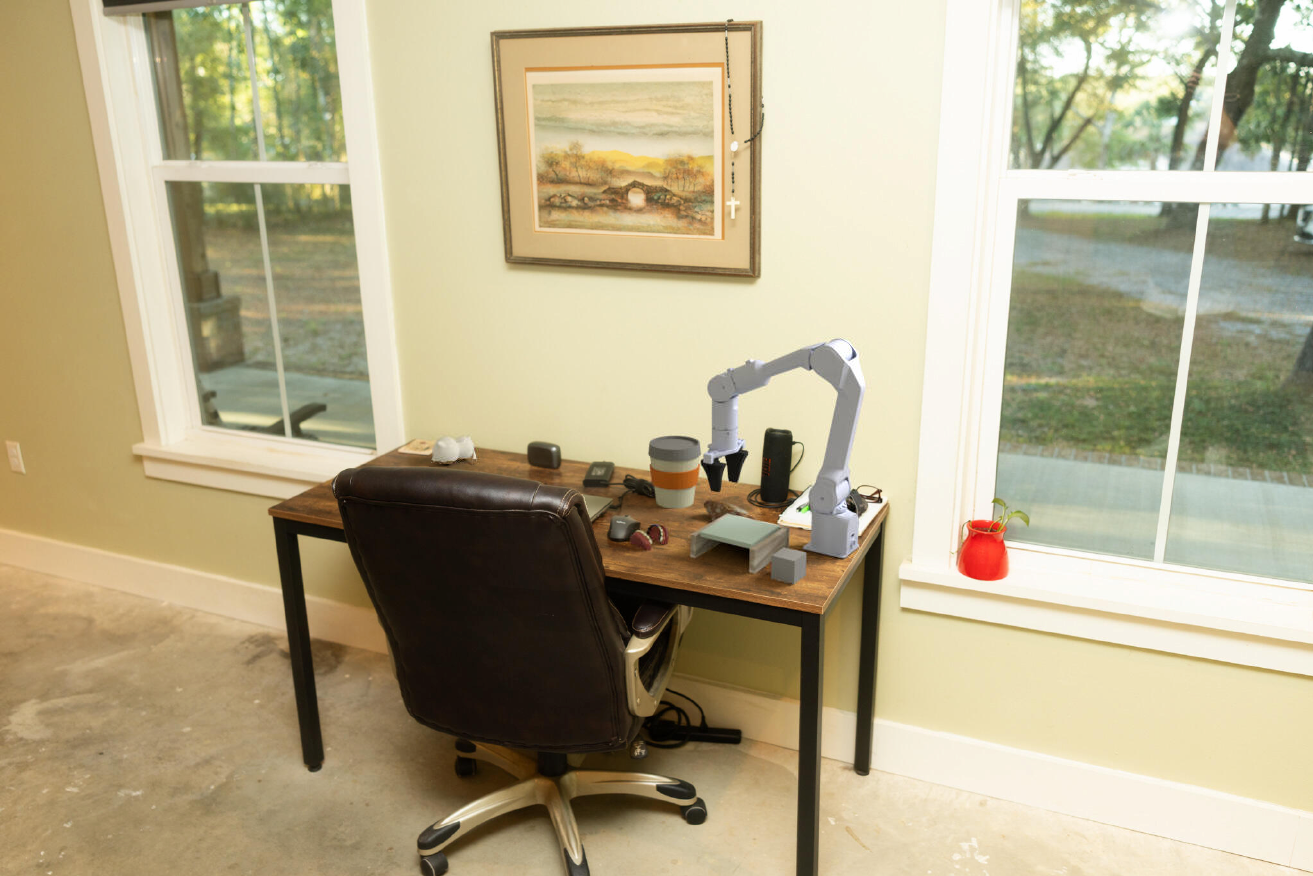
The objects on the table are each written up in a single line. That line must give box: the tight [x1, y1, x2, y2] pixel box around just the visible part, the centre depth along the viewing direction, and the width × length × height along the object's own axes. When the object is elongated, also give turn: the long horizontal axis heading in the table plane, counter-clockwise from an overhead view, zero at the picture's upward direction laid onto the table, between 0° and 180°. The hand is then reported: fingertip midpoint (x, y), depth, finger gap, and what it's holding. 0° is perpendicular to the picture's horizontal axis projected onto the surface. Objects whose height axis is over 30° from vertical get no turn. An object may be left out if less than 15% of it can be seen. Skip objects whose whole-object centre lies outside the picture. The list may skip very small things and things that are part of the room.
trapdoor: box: [700, 515, 779, 550], centre depth 200 cm, size 12×12×1 cm
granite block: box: [770, 547, 807, 585], centre depth 189 cm, size 5×5×5 cm
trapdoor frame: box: [689, 514, 791, 574], centre depth 201 cm, size 15×15×5 cm
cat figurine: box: [431, 434, 477, 462], centre depth 263 cm, size 9×11×12 cm
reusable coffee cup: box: [647, 435, 702, 509], centre depth 230 cm, size 13×13×15 cm
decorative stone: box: [703, 498, 756, 522], centre depth 218 cm, size 10×4×15 cm
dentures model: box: [629, 523, 669, 551], centre depth 206 cm, size 6×4×8 cm
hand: (724, 486), depth 213 cm, fingers open, 7 cm apart
